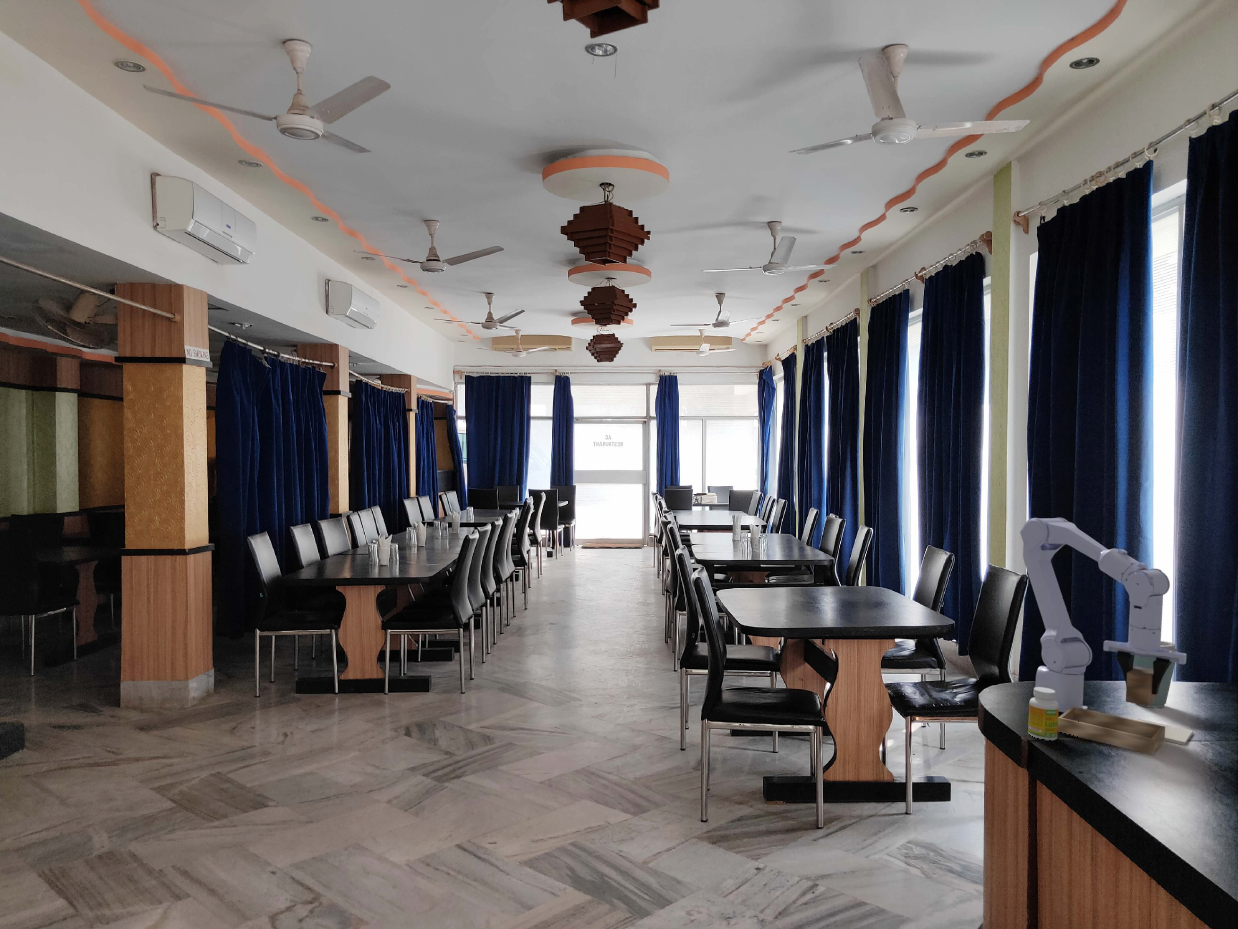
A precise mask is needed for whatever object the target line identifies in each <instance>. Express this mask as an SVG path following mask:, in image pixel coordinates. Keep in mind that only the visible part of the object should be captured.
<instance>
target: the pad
mask: <svg viewBox="0 0 1238 929" xmlns="http://www.w3.org/2000/svg"><path fill="white" fill-rule="evenodd" d="M1136 720H1137V721H1142V722H1146V723H1151V724H1156V725H1160V726H1165V741H1164V742H1169V743H1174V744H1179V745H1182V746H1186V744H1188V743H1187V742H1188V741H1189V740H1190V738H1191V737H1192V735H1193V733H1194V730H1192V729H1188V728H1184V727H1178V726H1173V725H1169V724H1164V723H1159V722H1155V721H1151V720H1146V719H1142V718H1137V719H1136ZM1188 739H1189V740H1188Z"/></svg>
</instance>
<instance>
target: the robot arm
mask: <svg viewBox="0 0 1238 929" xmlns="http://www.w3.org/2000/svg"><path fill="white" fill-rule="evenodd" d="M1019 533H1020V537H1021V540H1022V543H1023V545H1022V547H1023V548H1022V558H1023V562H1024V565H1025V568H1026V571H1027V575H1028V577H1029V580H1030V584H1031V587H1032V590H1033V594H1034V596H1035V600H1036V602H1037V606H1038V609H1039V612H1040V613H1039V614H1040V615H1041V618H1042V621H1043V625H1044V628H1045V632H1044V633H1043V634H1042V636H1041V638H1040V640H1039V641H1040V644H1041V658H1042V661H1043V663H1044V665H1040V666H1038V668H1037V670H1036V674H1035V687H1044V688H1049V689H1052V690H1054V691H1055V699H1054V701H1056V702H1057V703H1058V705H1059V712H1060V713H1062V714H1063V713H1065V712H1066V711H1067V710H1068V709H1070V708H1071V707H1072V706H1074V707H1078V708H1083V709H1087V710H1089V709H1088V708H1089V707H1088V706H1086V705H1084V704H1083V703H1084V702H1083V701H1084V700H1083V699H1084V681H1085V672H1086V671H1087V670H1086V668H1087V666H1089V665H1090V664H1091V662H1092V660H1093V652H1092V649H1091V647H1090V646H1089V644H1088V643H1087V642H1086V640H1085V639H1084V636H1083V634H1082V633H1081V632H1080V631H1079V630H1078V629H1077V628H1075V627H1074V626H1073V625H1072V622H1071V619H1070V616H1069V612H1068V611H1067V610H1068V609H1067V607H1066V604H1065V601H1064V599H1063V595H1062V592H1061V589H1060V586H1059V583H1058V579H1057V577H1056V574H1055V571H1054V567H1053V564H1052V559H1053V557H1054V555H1055V554H1056V553H1057V552H1058V551H1059V550H1060V549H1061V548H1063V547H1064V546H1065V545H1068V546H1069V547H1071V548H1074V549H1075V550H1077V551H1078V552H1080V553H1082V554H1084V556H1085V555H1086V556H1087V557H1089V558H1091V559H1093V560H1094V561H1095V562H1097V563H1098V568H1099V570H1100V571H1102V573H1104V574H1107V575H1108V576H1109V577H1111V578H1113V579H1114V580H1116V581H1117V582H1118V583H1120V584H1121V585H1123V586H1124V588H1125V591H1126V592H1127V593H1128V596H1129V598H1128V601H1129V618H1128V641H1127V642H1128V643H1127V642H1122V641H1113V640H1104V641H1103V651H1105V652H1114V653H1116V657H1115V658H1116V660H1117V662H1118V665H1119V667H1120V668H1121V672H1122V674H1123V677H1124V681H1125V686H1126V685H1127V673H1128V672H1129V671H1131V670H1132V669H1133V663H1134V656H1135V655H1137V656H1142V657H1148V658H1154V659H1156V660H1155V661H1153V686H1152V694H1154V695H1156V694H1158V690H1159V686H1160V683H1161V680H1162V678H1163V676H1164V674H1165V672H1166V671H1167V669H1168V667H1169V666H1170V664H1171V663H1172V662H1175V663H1177V664H1179V665H1185V664H1186V663H1187V653H1184V652H1179V651H1178V652H1175V651H1171V650H1166V649H1162V648H1160V647H1161V641H1162V623H1163V606H1164V604H1163V603H1164V595H1166V594H1168V592H1169V590H1170V587H1171V583H1170V579H1169V577H1168V575H1167V574H1166V573H1165V572H1164V571H1163V570H1161V569H1160V568H1148V567H1147V563H1144V562H1140V561H1138V560H1136V559H1135V558H1133V557H1132V556H1129V555H1128V551H1127V550H1125V549H1122V548H1119V549H1118V548H1111V549H1108V548H1107V547H1105V546H1104V545H1102V544H1100V542H1098V541H1096V540H1095V539H1094V538H1092V537H1091V536H1089V535H1088V534H1087V533H1085V532H1083V531H1082V530H1080V529H1079V528H1078V527H1077V526H1076V524H1075V523H1073V522H1070V521H1068V520H1067V519H1065V518H1063V517H1055V518H1054V517H1053V518H1049V517H1048V518H1038V517H1032V518H1029V519H1027V520H1026V522H1025V523H1024V525H1023V527H1022V528H1021V530H1020V531H1019ZM1045 665H1046V666H1045ZM1035 687H1034V688H1035Z"/></svg>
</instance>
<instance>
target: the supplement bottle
mask: <svg viewBox="0 0 1238 929" xmlns="http://www.w3.org/2000/svg"><path fill="white" fill-rule="evenodd" d="M1033 696H1034V697H1031V698H1030V700H1029V704H1028V723H1027V724H1028V726H1027V729H1028V730H1027V733H1028V735H1029V734H1030V735H1031V736H1030V735H1029V736H1030V737H1032V736H1033V737H1032V738H1034V737H1035V738H1034V739H1037V738H1039V739H1038V740H1041V739H1045V740H1044V741H1049V740H1051V741H1055V740H1057V739H1058V733H1059V732H1058V717H1059V705H1058V703H1057V702H1056V701H1054V699H1055V691H1054V690H1052V689H1049V688H1044V687H1033Z"/></svg>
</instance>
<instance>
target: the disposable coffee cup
mask: <svg viewBox="0 0 1238 929" xmlns="http://www.w3.org/2000/svg"><path fill="white" fill-rule="evenodd" d="M1126 643H1128V641H1127V642H1126ZM1160 648H1162V649H1166V650H1171V651H1175V652H1179V651H1178V650H1177V649H1176V644H1175V643H1173V642H1170V641H1165V640H1161V647H1160ZM1155 660H1156V659H1154V658H1148V657H1142V656H1137V655H1135V656H1134V663H1133V668H1134V667H1136V666H1138V667H1143V668H1148V669H1153V661H1155ZM1175 666H1176V662H1172V663H1171V664H1170V666H1169V667H1168V669H1167V671H1166V672H1165V674H1164V676H1163V678H1162V680H1161V683H1160V686H1159V690H1158V694H1157V698H1156V699H1155V700H1154V701H1153V702H1152V703H1151V704H1150V705H1149V706H1144V705H1139V704H1137V705H1139V706H1142V707H1147V708H1152V709H1163V708H1164V707H1165V705H1166V704H1167V700H1168V696H1169V691H1170V687H1171V682H1172V680H1173V674H1174V669H1175Z"/></svg>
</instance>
